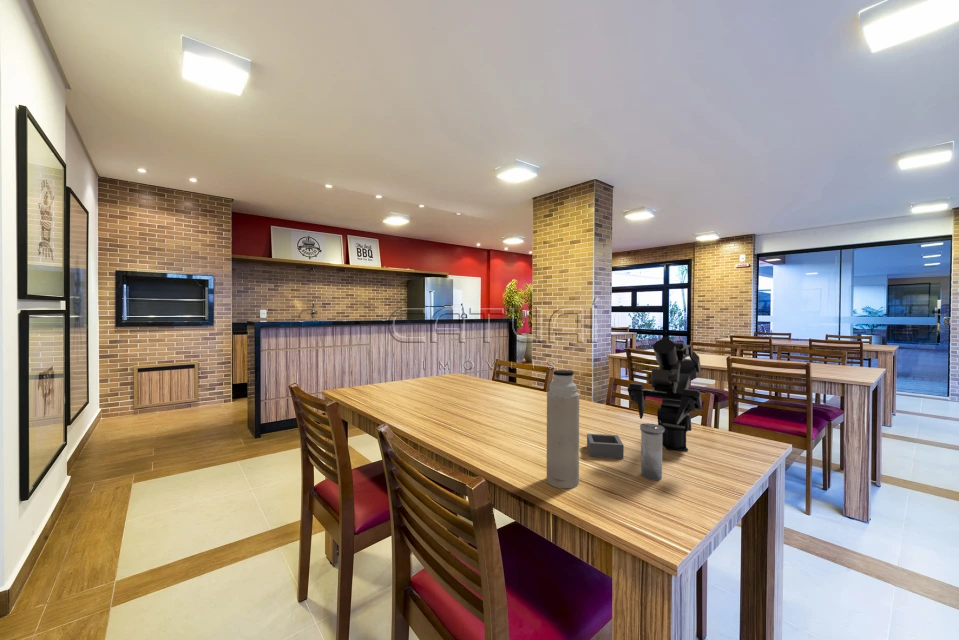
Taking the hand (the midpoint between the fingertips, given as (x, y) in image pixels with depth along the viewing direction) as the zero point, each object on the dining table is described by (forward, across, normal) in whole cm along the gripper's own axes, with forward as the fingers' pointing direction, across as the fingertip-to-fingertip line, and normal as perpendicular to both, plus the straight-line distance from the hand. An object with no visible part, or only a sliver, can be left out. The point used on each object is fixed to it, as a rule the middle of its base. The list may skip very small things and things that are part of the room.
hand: (658, 420), depth 105 cm
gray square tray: (+7, -16, +11) cm, 21 cm away
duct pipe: (+14, 0, +4) cm, 15 cm away
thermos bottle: (+26, -17, -8) cm, 32 cm away
